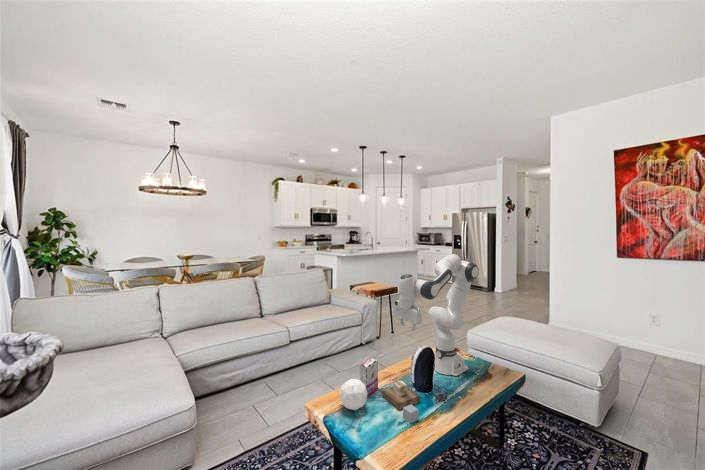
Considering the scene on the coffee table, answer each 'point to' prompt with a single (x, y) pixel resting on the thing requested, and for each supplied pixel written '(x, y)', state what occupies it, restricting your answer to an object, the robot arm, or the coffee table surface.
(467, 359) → the coffee table surface
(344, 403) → the geodesic sphere
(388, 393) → the walnut base block
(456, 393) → the coffee table surface
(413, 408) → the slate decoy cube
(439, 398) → the car cutout
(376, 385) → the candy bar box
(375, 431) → the coffee table surface
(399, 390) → the maple cube
